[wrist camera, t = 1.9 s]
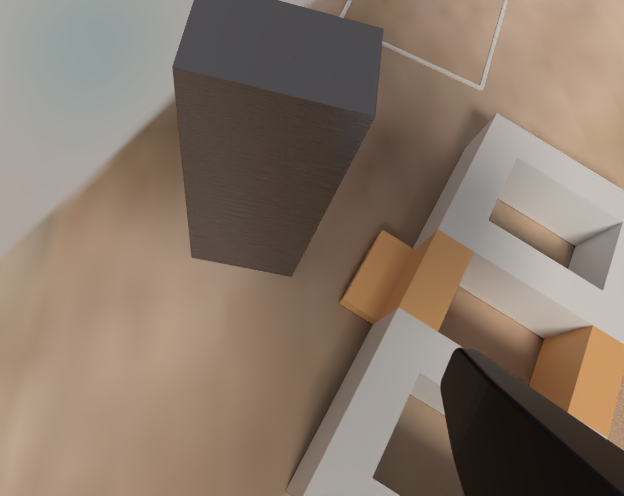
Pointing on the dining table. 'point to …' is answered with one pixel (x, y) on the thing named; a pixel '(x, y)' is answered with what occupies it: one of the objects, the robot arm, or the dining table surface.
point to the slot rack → (489, 288)
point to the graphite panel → (268, 124)
